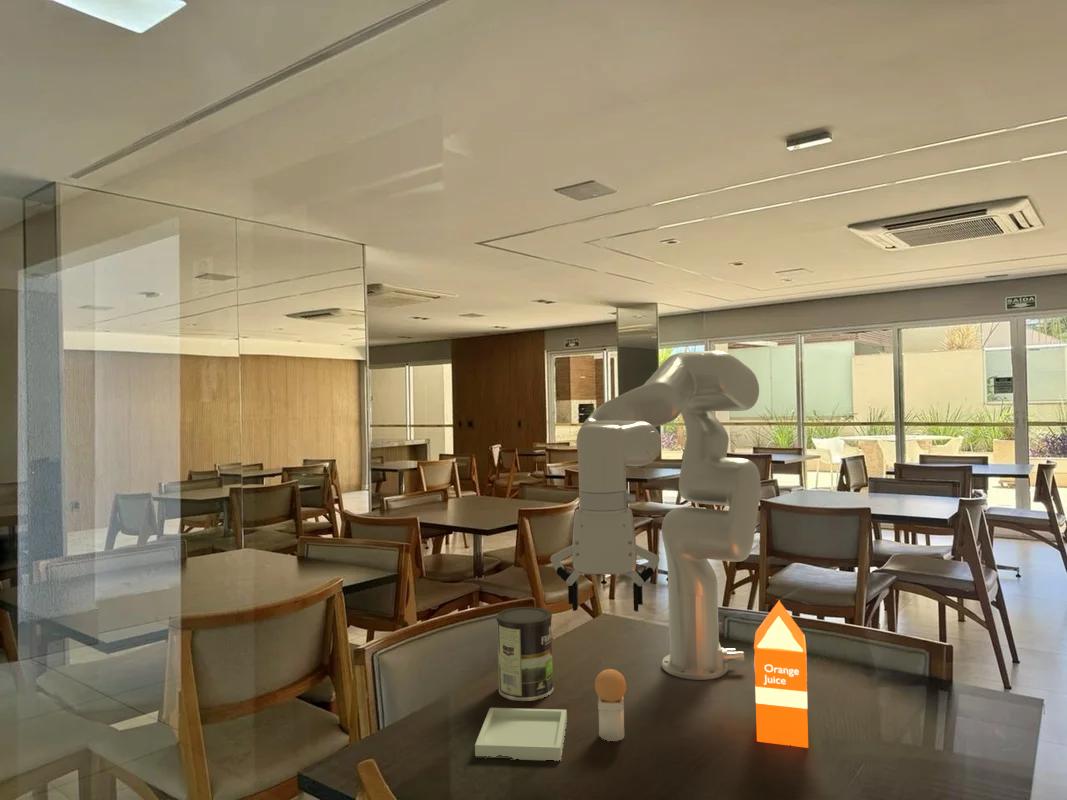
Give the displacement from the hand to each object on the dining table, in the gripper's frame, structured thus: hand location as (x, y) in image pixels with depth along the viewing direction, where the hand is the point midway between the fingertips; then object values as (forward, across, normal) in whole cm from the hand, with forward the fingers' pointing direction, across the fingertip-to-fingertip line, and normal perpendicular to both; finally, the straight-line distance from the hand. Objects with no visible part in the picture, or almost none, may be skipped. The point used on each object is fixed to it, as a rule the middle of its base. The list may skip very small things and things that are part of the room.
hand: (605, 608), depth 116 cm
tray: (+20, +14, +2) cm, 24 cm away
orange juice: (+21, -27, -3) cm, 34 cm away
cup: (+20, 0, 0) cm, 20 cm away
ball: (+12, 0, 0) cm, 12 cm away
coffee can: (+21, +16, -17) cm, 31 cm away
